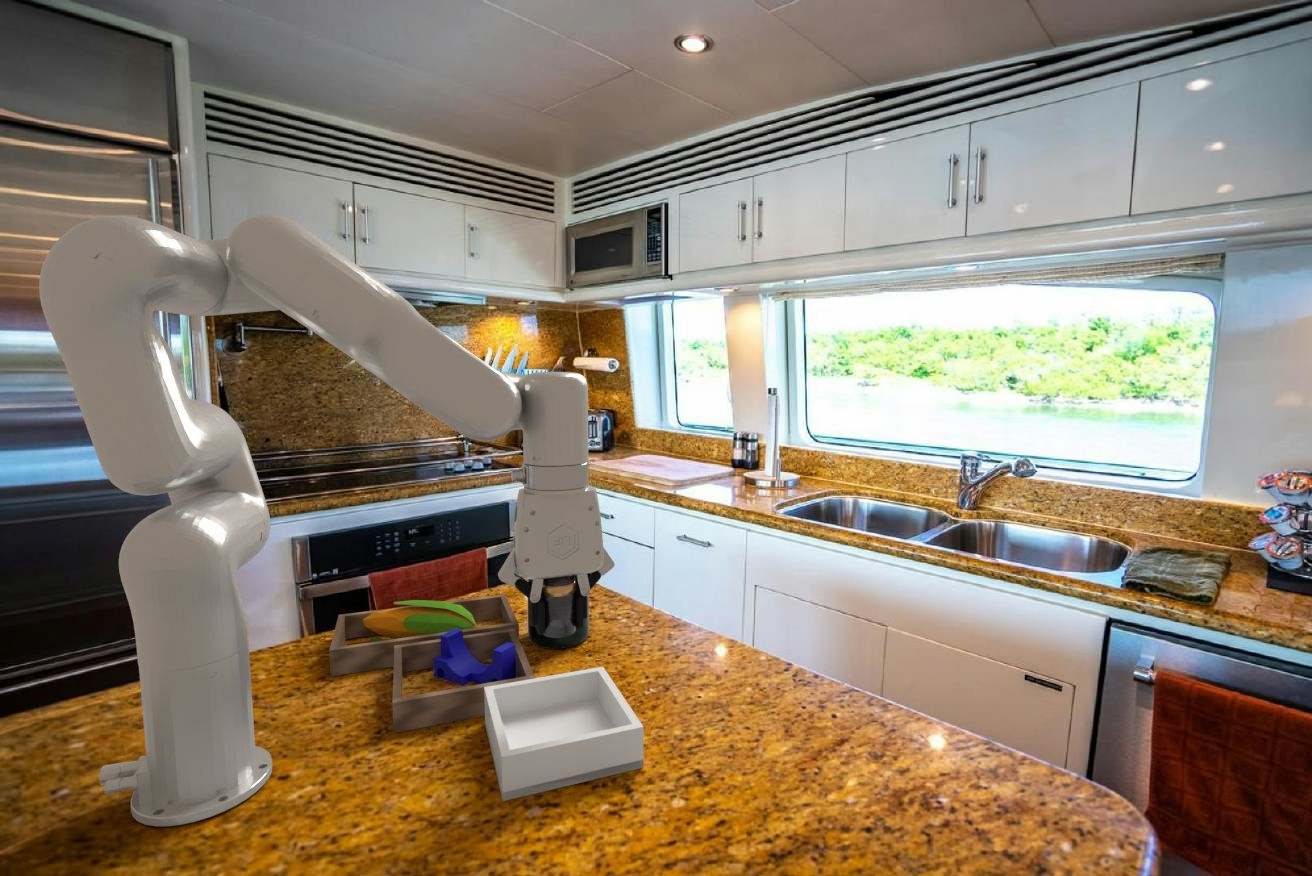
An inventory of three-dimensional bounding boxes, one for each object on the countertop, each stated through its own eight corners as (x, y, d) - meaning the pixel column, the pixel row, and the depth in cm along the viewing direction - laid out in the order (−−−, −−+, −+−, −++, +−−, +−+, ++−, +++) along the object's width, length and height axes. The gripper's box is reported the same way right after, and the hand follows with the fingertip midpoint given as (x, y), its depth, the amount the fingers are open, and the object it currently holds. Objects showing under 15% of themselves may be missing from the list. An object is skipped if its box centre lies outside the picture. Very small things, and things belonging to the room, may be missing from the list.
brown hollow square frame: (393, 733, 80) (392, 703, 80) (395, 670, 97) (394, 645, 96) (535, 706, 87) (535, 678, 86) (514, 652, 103) (514, 628, 103)
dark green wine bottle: (541, 623, 115) (538, 443, 112) (596, 628, 113) (595, 444, 110) (517, 647, 105) (514, 450, 101) (578, 653, 103) (576, 452, 99)
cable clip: (433, 677, 95) (432, 639, 94) (456, 665, 99) (455, 628, 98) (495, 696, 89) (494, 656, 89) (516, 683, 93) (515, 644, 93)
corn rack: (330, 676, 95) (329, 650, 94) (339, 637, 109) (338, 614, 108) (519, 647, 105) (518, 624, 105) (505, 615, 119) (505, 594, 118)
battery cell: (545, 640, 74) (544, 576, 73) (538, 627, 77) (537, 566, 77) (579, 634, 75) (579, 572, 74) (571, 622, 79) (570, 562, 78)
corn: (464, 611, 101) (347, 604, 103) (464, 658, 101) (347, 650, 103) (483, 597, 108) (373, 591, 110) (483, 642, 108) (373, 635, 111)
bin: (502, 801, 67) (501, 757, 67) (484, 723, 82) (484, 687, 82) (643, 767, 73) (643, 726, 73) (603, 701, 88) (603, 666, 88)
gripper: (487, 487, 68) (491, 651, 70) (634, 478, 74) (634, 629, 76) (479, 476, 75) (483, 626, 77) (614, 469, 81) (615, 607, 83)
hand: (558, 626), depth 76 cm, fingers closed on battery cell, 4 cm apart
